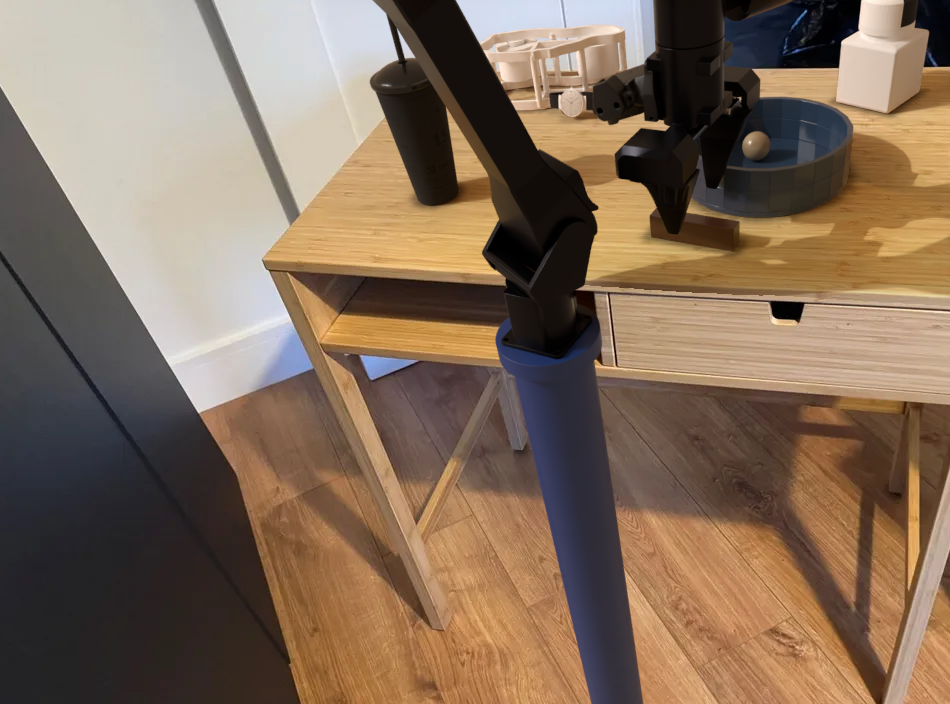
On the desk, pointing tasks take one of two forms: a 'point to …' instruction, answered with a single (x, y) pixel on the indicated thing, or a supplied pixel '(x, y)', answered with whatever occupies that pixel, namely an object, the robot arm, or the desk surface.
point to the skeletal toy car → (555, 58)
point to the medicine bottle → (882, 57)
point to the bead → (756, 145)
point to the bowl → (784, 161)
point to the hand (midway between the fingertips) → (693, 209)
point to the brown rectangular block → (700, 231)
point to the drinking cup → (417, 126)
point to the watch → (571, 101)
